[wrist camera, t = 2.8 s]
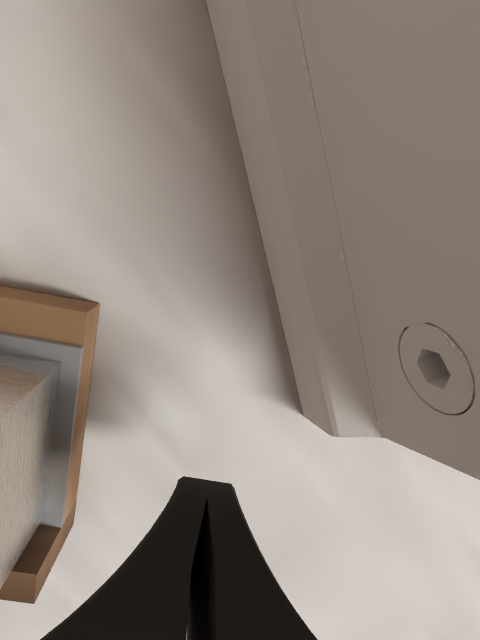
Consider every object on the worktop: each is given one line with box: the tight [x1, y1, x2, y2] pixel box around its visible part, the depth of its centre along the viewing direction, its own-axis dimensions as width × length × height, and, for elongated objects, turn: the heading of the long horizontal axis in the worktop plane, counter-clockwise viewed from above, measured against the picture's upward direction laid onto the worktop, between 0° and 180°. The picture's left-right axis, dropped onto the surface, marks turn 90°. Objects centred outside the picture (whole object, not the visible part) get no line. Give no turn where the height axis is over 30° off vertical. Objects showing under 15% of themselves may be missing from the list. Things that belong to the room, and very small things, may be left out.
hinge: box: [206, 0, 480, 480], centre depth 9 cm, size 17×5×10 cm, turn 14°
